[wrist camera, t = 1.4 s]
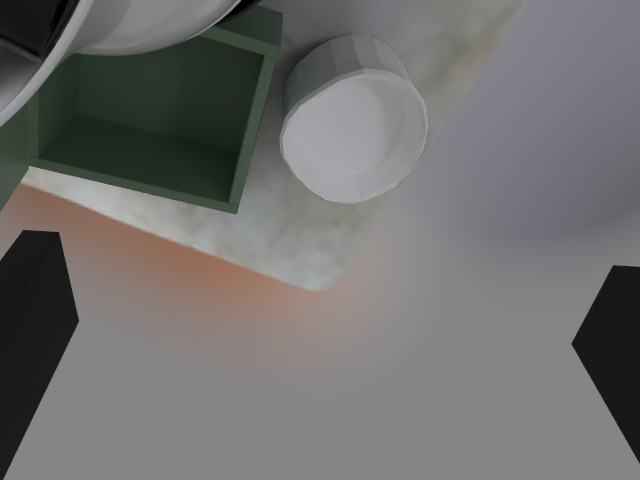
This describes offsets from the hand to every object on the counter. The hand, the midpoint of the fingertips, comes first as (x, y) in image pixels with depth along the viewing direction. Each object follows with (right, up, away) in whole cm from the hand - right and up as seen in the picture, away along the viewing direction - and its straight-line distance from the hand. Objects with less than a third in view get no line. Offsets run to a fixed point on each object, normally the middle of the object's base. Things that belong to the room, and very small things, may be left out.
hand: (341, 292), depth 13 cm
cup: (+1, +13, +30) cm, 33 cm away
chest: (-12, +15, +28) cm, 34 cm away
